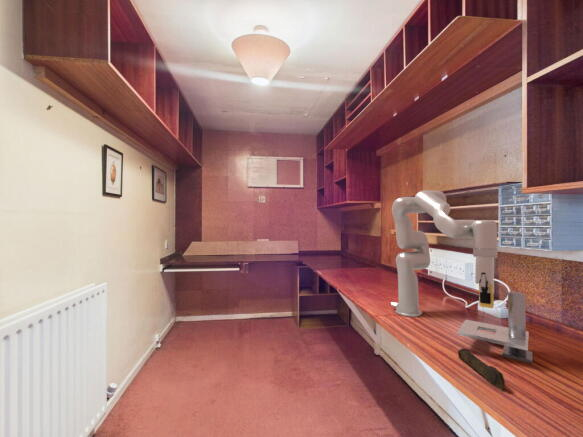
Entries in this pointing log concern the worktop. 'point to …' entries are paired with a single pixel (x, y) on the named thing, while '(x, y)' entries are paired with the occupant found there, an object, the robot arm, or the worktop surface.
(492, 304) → the yellow block
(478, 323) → the gray plate with post
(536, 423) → the worktop surface
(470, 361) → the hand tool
